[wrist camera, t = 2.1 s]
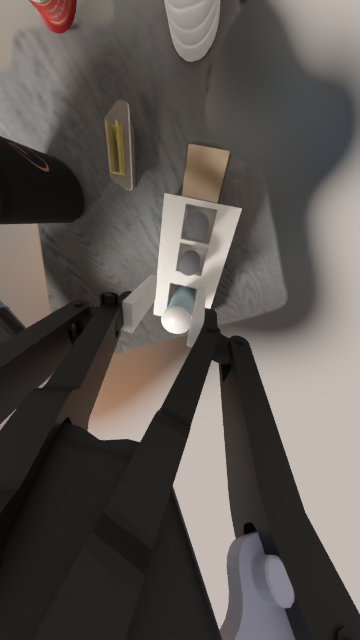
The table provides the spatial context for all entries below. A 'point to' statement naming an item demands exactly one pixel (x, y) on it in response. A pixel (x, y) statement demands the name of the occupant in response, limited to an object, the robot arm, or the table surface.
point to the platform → (120, 145)
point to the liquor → (55, 13)
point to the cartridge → (179, 310)
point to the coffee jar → (36, 187)
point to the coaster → (204, 172)
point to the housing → (192, 248)
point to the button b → (196, 225)
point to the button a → (189, 263)
